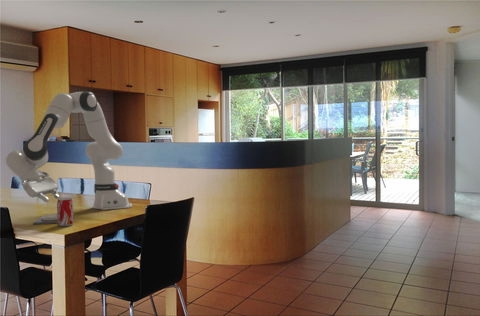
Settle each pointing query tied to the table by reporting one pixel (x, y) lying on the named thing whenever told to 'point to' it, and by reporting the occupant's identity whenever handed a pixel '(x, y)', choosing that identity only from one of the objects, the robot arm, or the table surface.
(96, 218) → the table surface
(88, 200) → the table surface
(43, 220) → the slate can stand
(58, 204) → the soda can
